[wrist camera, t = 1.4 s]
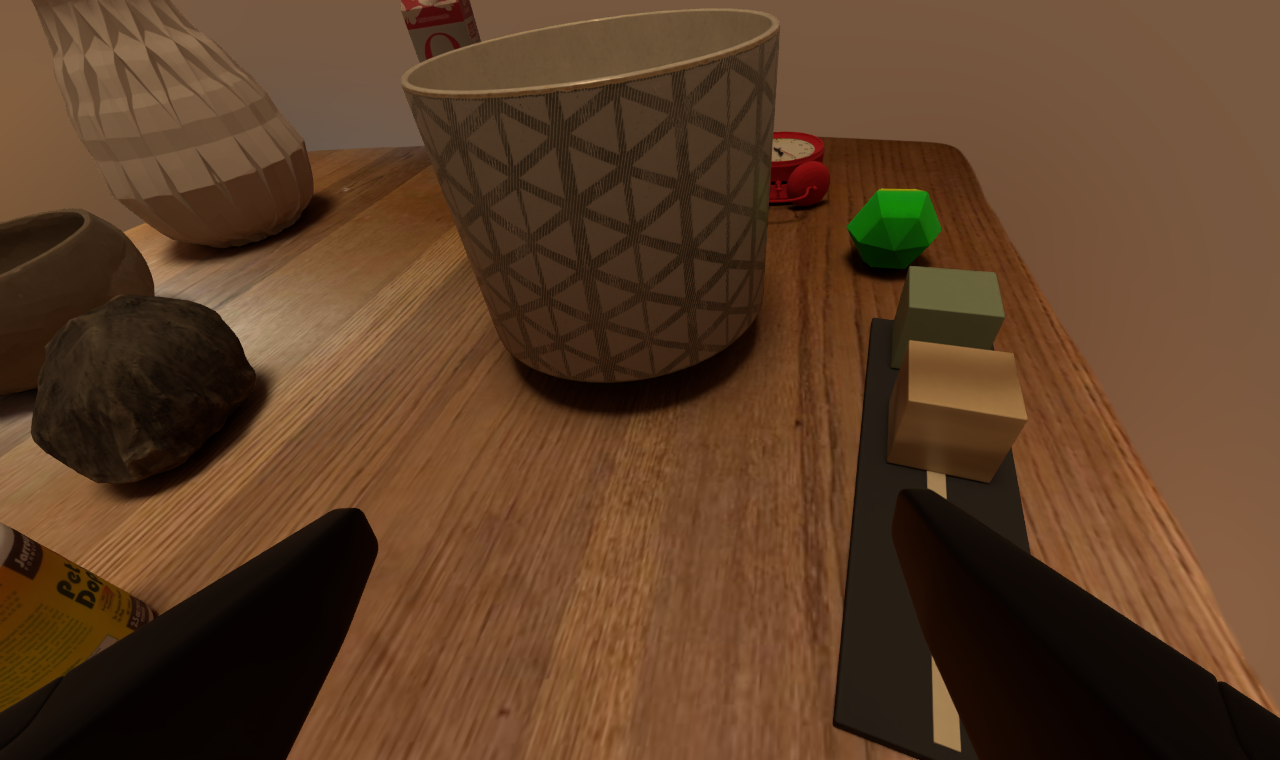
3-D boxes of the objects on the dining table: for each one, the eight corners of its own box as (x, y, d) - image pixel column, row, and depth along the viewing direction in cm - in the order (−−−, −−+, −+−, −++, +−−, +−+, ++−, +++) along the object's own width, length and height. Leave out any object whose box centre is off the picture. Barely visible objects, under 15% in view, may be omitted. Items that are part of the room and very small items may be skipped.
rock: (66, 525, 28) (-90, 377, 23) (123, 428, 36) (19, 304, 31) (270, 454, 32) (178, 313, 26) (278, 381, 40) (209, 264, 35)
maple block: (989, 483, 23) (1028, 419, 20) (886, 462, 25) (908, 400, 22) (981, 417, 26) (1013, 352, 23) (888, 401, 28) (908, 339, 25)
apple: (915, 187, 32) (905, 140, 39) (829, 242, 37) (832, 192, 43) (968, 262, 35) (951, 207, 41) (882, 306, 39) (878, 250, 45)
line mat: (1068, 817, 15) (1079, 815, 15) (832, 725, 18) (835, 720, 17) (988, 338, 32) (991, 329, 31) (870, 324, 34) (872, 316, 34)
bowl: (-89, 465, 35) (-282, 359, 28) (-18, 351, 47) (-143, 256, 40) (187, 358, 41) (83, 250, 35) (190, 280, 53) (113, 188, 46)
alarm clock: (822, 127, 55) (848, 137, 42) (817, 187, 58) (839, 213, 45) (728, 134, 57) (724, 146, 44) (727, 191, 60) (724, 218, 47)
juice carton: (507, 168, 68) (447, -37, 54) (460, 176, 68) (387, -28, 54) (512, 153, 73) (458, -39, 59) (468, 160, 73) (403, -30, 59)
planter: (506, 446, 30) (355, 121, 18) (510, 287, 44) (428, 46, 32) (805, 382, 31) (859, 34, 19) (716, 247, 45) (713, -1, 33)
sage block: (976, 380, 28) (1006, 316, 25) (890, 368, 30) (909, 306, 27) (970, 334, 31) (995, 272, 28) (892, 324, 33) (909, 265, 30)
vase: (321, 243, 56) (98, -130, 36) (132, 284, 54) (-218, -91, 34) (350, 185, 71) (203, -103, 51) (203, 215, 69) (-13, -75, 49)
